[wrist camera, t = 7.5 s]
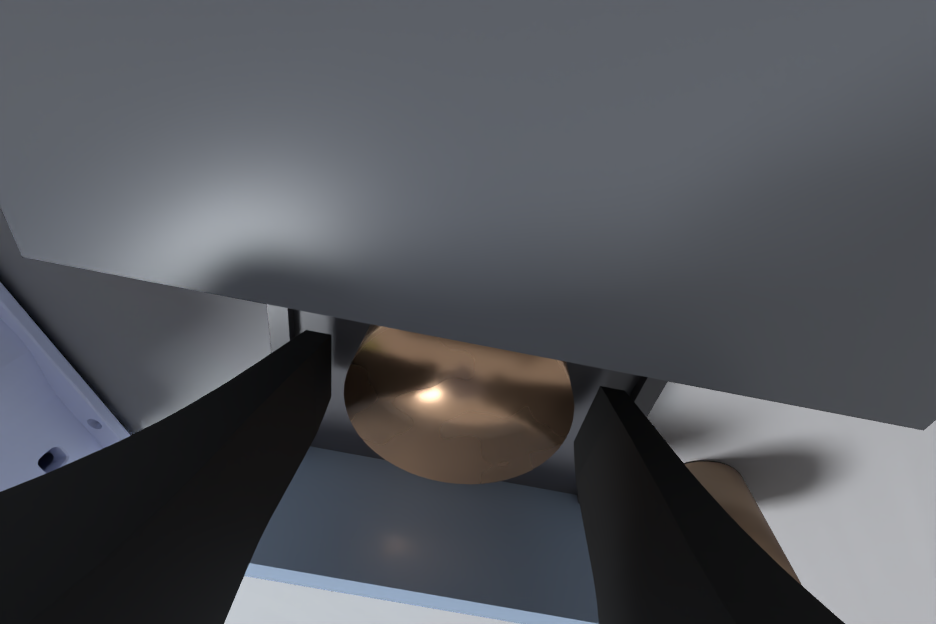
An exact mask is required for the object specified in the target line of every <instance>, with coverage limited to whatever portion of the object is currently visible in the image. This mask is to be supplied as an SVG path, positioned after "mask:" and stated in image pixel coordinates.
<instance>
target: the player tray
mask: <svg viewBox="0 0 936 624" xmlns="http://www.w3.org/2000/svg"><path fill="white" fill-rule="evenodd" d="M266 305H267V315H268V325H269V335H270V345H271V353H272V352H274V351H275V350H277V349H278V348H280V347H281V346H283V345H284V344H286V343H287V342H289V341H290V340H291V339H293V338H294V337H296V336H298V335H299V334H301V333H302V332H304V331H305V330H310V331H315V332H320V333H325V334H331V335H332V360H331V399H330V402H329V404H328V407H327V410H326V412H325V415H324V417H323V420H322V422H321V425H320V427H319V430H318V432H317V434H316V436H315V438H314V440H313V442H312V444H311V446H310V448H309V449H308V451H307V453H306V455H305V457H304V459H303V460H302V462H301V464H300V466H299V468H298V470H297V471H296V473H295V475H294V477H293V479H292V481H291V482H290V484H289V486H288V488H287V490H286V491H285V493H284V495H283V497H282V499H281V501H280V502H279V504H278V506H277V508H276V510H275V511H274V513H273V515H272V517H271V519H270V521H269V523H268V525H267V527H266V529H265V531H264V533H263V535H262V537H261V539H260V541H259V543H258V545H257V547H256V550H255V552H254V554H253V556H252V559H251V561H250V563H249V566H248V568H247V570H246V573H245V575H244V576H248V577H254V578H259V579H265V580H271V581H277V582H283V583H288V584H294V585H300V586H306V587H312V588H317V589H323V590H329V591H335V592H341V593H346V594H352V595H358V596H364V597H370V598H375V599H381V600H387V601H393V602H399V603H404V604H410V605H416V606H422V607H428V608H433V609H439V610H445V611H451V612H457V613H462V614H468V615H474V616H480V617H486V618H491V619H497V620H503V621H509V622H515V623H520V624H599V620H598V609H597V599H596V592H595V585H594V579H593V573H592V568H591V562H590V557H589V552H588V546H587V541H586V536H585V530H584V525H583V520H582V514H581V509H580V503H579V498H578V492H577V486H576V478H575V463H574V440H575V438H576V436H577V434H578V432H579V429H580V427H581V425H582V423H583V421H584V419H585V417H586V415H587V413H588V410H589V408H590V406H591V404H592V402H593V400H594V398H595V396H596V394H597V391H598V389H599V387H600V386H603V387H609V388H614V389H619V390H624V391H625V392H626V393H627V394H628V395H629V396H630V397H631V399H632V400H633V401H634V402H635V404H636V405H637V406H638V407H639V409H640V410H641V411H642V412H643V414H644V415H645V416H646V417H647V416H648V414H649V412H650V410H651V409H652V407H653V405H654V404H655V402H656V400H657V399H658V397H659V395H660V393H661V392H662V390H663V388H664V387H665V385H666V383H667V381H664V380H659V379H654V378H649V377H643V376H638V375H633V374H628V373H623V372H617V371H612V370H607V369H602V368H596V367H591V366H586V365H581V364H576V363H570V362H567V366H568V371H569V376H570V381H571V387H572V392H573V397H574V417H573V422H572V425H571V429H570V431H569V433H568V435H567V437H566V439H565V441H564V442H563V444H562V445H561V446H560V448H559V449H558V450H557V451H556V452H555V453H554V454H553V455H552V456H551V457H550V458H549V459H548V460H546V461H545V462H544V463H542V464H541V465H539V466H538V467H536V468H534V469H533V470H531V471H529V472H526V473H524V474H522V475H519V476H516V477H514V478H511V479H507V480H503V481H498V482H492V483H485V484H454V483H445V482H440V481H435V480H431V479H427V478H424V477H420V476H417V475H415V474H412V473H409V472H407V471H405V470H403V469H401V468H399V467H397V466H395V465H393V464H391V463H390V462H388V461H386V460H385V459H384V458H382V457H381V456H380V455H378V454H377V453H376V452H374V451H373V450H372V449H371V448H370V447H369V446H368V445H367V444H366V443H365V442H364V441H363V439H362V438H361V437H360V436H359V434H358V433H357V431H356V430H355V428H354V427H353V425H352V423H351V421H350V419H349V417H348V414H347V410H346V407H345V401H344V383H345V378H346V374H347V371H348V369H349V367H350V365H351V362H352V360H353V358H354V356H355V354H356V352H357V350H358V348H359V346H360V344H361V342H362V340H363V338H364V336H365V334H366V332H367V330H368V328H369V326H370V324H367V323H362V322H357V321H352V320H346V319H341V318H336V317H331V316H326V315H320V314H315V313H310V312H305V311H300V310H294V309H289V308H284V307H279V306H274V305H268V304H266Z"/></svg>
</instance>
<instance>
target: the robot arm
mask: <svg viewBox="0 0 936 624" xmlns="http://www.w3.org/2000/svg"><path fill="white" fill-rule="evenodd" d="M331 360H332V335H331V334H325V333H320V332H315V331H310V330H305V331H304V332H302V333H301V334H299V335H298V336H296V337H294V338H293V339H291V340H290V341H289V342H287V343H286V344H284V345H283V346H281V347H280V348H278V349H277V350H275V351H274V352H272V353H271V354H269V355H268V356H267V357H265V358H264V359H262V360H261V361H259V362H258V363H256V364H255V365H253V366H252V367H250V368H248V369H247V370H245V371H244V372H242V373H241V374H239V375H238V376H236V377H235V378H233V379H231V380H230V381H228V382H227V383H225V384H224V385H222V386H220V387H219V388H217V389H215V390H214V391H212V392H210V393H209V394H207V395H205V396H203V397H202V398H200V399H198V400H197V401H195V402H193V403H192V404H190V405H188V406H187V407H185V408H183V409H181V410H179V411H178V412H176V413H174V414H172V415H170V416H168V417H166V418H165V419H163V420H161V421H159V422H157V423H155V424H153V425H151V426H149V427H147V428H145V429H143V430H141V431H139V432H137V433H135V434H133V435H131V436H130V434H129V433H128V432H127V430H126V429H125V428H124V427H123V426H122V425H121V423H120V422H119V421H118V420H117V419H116V418H115V416H114V415H113V414H112V413H111V412H110V410H109V409H108V408H107V407H106V406H105V405H104V403H103V402H102V401H101V400H100V399H99V397H98V396H97V395H96V394H95V393H94V392H93V390H92V389H91V388H90V387H89V386H88V385H87V383H86V382H85V381H84V380H83V379H82V377H81V376H80V375H79V374H78V373H77V372H76V370H75V369H74V368H73V367H72V366H71V365H70V363H69V362H68V361H67V360H66V359H65V357H64V356H63V355H62V354H61V353H60V352H59V350H58V349H57V348H56V347H55V346H54V344H53V343H52V342H51V341H50V340H49V339H48V337H47V336H46V335H45V334H44V333H43V332H42V330H41V329H40V328H39V327H38V326H37V324H36V323H35V322H34V321H33V320H32V319H31V317H30V316H29V315H28V314H27V313H26V312H25V310H24V309H23V308H22V307H21V306H20V304H19V303H18V302H17V301H16V300H15V299H14V297H13V296H12V295H11V294H10V293H9V291H8V290H7V289H6V288H5V287H4V286H3V284H2V283H1V282H0V624H224V622H225V620H226V617H227V615H228V613H229V610H230V608H231V605H232V603H233V601H234V598H235V596H236V593H237V591H238V589H239V586H240V584H241V582H242V579H243V577H244V575H245V573H246V570H247V568H248V566H249V563H250V561H251V559H252V556H253V554H254V552H255V550H256V547H257V545H258V543H259V541H260V539H261V537H262V535H263V533H264V531H265V529H266V527H267V525H268V523H269V521H270V519H271V517H272V515H273V513H274V511H275V510H276V508H277V506H278V504H279V502H280V501H281V499H282V497H283V495H284V493H285V491H286V490H287V488H288V486H289V484H290V482H291V481H292V479H293V477H294V475H295V473H296V471H297V470H298V468H299V466H300V464H301V462H302V460H303V459H304V457H305V455H306V453H307V451H308V449H309V448H310V446H311V444H312V442H313V440H314V438H315V436H316V434H317V432H318V430H319V427H320V425H321V422H322V420H323V417H324V415H325V412H326V410H327V407H328V404H329V402H330V399H331ZM574 463H575V478H576V486H577V492H578V498H579V503H580V509H581V514H582V520H583V525H584V530H585V536H586V541H587V546H588V552H589V557H590V562H591V568H592V573H593V579H594V585H595V592H596V599H597V609H598V620H599V624H845V623H844V622H842V621H841V620H840V619H839V618H838V617H837V616H835V615H834V614H833V613H832V612H831V611H830V610H829V609H828V608H826V607H825V606H824V605H823V604H822V603H821V602H820V601H819V600H817V599H816V598H815V597H814V596H813V595H812V594H811V593H810V592H808V591H807V590H806V589H805V588H804V587H803V586H802V585H801V584H799V583H798V582H797V581H796V580H795V579H794V578H793V577H792V576H791V575H790V574H789V573H787V572H786V571H785V570H784V569H783V568H782V567H781V566H780V565H779V564H778V563H777V562H776V561H775V560H774V559H773V558H772V557H771V556H770V555H769V554H768V553H767V552H766V551H765V550H764V549H762V548H761V547H760V546H759V545H758V544H757V543H756V542H755V541H754V540H753V539H752V538H751V537H750V536H749V535H748V534H747V533H746V532H745V531H744V530H743V529H742V528H741V527H740V526H739V525H738V524H737V522H736V521H735V520H734V519H733V518H732V517H731V516H730V515H729V514H728V513H727V512H726V511H725V510H724V509H723V508H722V506H721V505H720V504H719V503H718V502H717V501H716V500H715V499H714V498H713V496H712V495H711V494H710V493H709V492H708V491H707V490H706V489H705V488H704V487H703V485H702V484H701V483H700V482H699V481H698V480H697V478H696V477H695V476H694V475H693V474H692V473H691V472H690V470H689V469H688V468H687V467H686V466H685V464H684V463H683V462H682V461H681V460H680V458H679V457H678V456H677V455H676V454H675V452H674V451H673V450H672V449H671V447H670V446H669V445H668V444H667V442H666V441H665V440H664V439H663V437H662V436H661V435H660V434H659V432H658V431H657V430H656V429H655V427H654V426H653V425H652V424H651V422H650V421H649V420H648V419H647V417H646V416H645V415H644V414H643V412H642V411H641V410H640V409H639V407H638V406H637V405H636V404H635V402H634V401H633V400H632V399H631V397H630V396H629V395H628V394H627V393H626V392H625V391H624V390H619V389H614V388H609V387H603V386H600V387H599V389H598V391H597V394H596V396H595V398H594V400H593V402H592V404H591V406H590V408H589V410H588V413H587V415H586V417H585V419H584V421H583V423H582V425H581V427H580V429H579V432H578V434H577V436H576V438H575V440H574Z"/></svg>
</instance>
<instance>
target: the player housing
mask: <svg viewBox="0 0 936 624" xmlns="http://www.w3.org/2000/svg"><path fill="white" fill-rule="evenodd" d="M0 208H1V210H2V213H3V215H4V217H5V219H6V222H7V224H8V226H9V228H10V231H11V233H12V235H13V237H14V240H15V242H16V244H17V246H18V249H19V251H20V253H21V255H22V257H24V258H29V259H34V260H39V261H44V262H50V263H55V264H60V265H65V266H70V267H76V268H81V269H86V270H91V271H96V272H102V273H107V274H112V275H117V276H122V277H128V278H133V279H138V280H143V281H149V282H154V283H159V284H164V285H169V286H175V287H180V288H185V289H190V290H195V291H201V292H206V293H211V294H216V295H221V296H227V297H232V298H237V299H242V300H247V301H253V302H258V303H263V304H268V305H274V306H279V307H284V308H289V309H294V310H300V311H305V312H310V313H315V314H320V315H326V316H331V317H336V318H341V319H346V320H352V321H357V322H362V323H367V324H372V325H378V326H383V327H388V328H393V329H399V330H404V331H409V332H414V333H419V334H425V335H430V336H435V337H440V338H445V339H451V340H456V341H461V342H466V343H471V344H477V345H482V346H487V347H492V348H497V349H503V350H508V351H513V352H518V353H524V354H529V355H534V356H539V357H544V358H550V359H555V360H560V361H565V362H570V363H576V364H581V365H586V366H591V367H596V368H602V369H607V370H612V371H617V372H623V373H628V374H633V375H638V376H643V377H649V378H654V379H659V380H664V381H669V382H675V383H680V384H685V385H690V386H695V387H701V388H706V389H711V390H716V391H721V392H727V393H732V394H737V395H742V396H748V397H753V398H758V399H763V400H768V401H774V402H779V403H784V404H789V405H794V406H800V407H805V408H810V409H815V410H820V411H826V412H831V413H836V414H841V415H846V416H852V417H857V418H862V419H867V420H873V421H878V422H883V423H888V424H893V425H899V426H904V427H909V428H914V429H919V430H925V429H926V428H927V427H928V426H929V425H930V424H932V423H933V422H934V421H935V420H936V0H0Z"/></svg>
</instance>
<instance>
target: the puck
mask: <svg viewBox="0 0 936 624" xmlns="http://www.w3.org/2000/svg"><path fill="white" fill-rule="evenodd" d="M344 401H345V407H346V410H347V414H348V417H349V419H350V421H351V423H352V425H353V427H354V428H355V430H356V431H357V433H358V434H359V436H360V437H361V438H362V439H363V441H364V442H365V443H366V444H367V445H368V446H369V447H370V448H371V449H372V450H373V451H374V452H376V453H377V454H378V455H380V456H381V457H382V458H384V459H385V460H386V461H388V462H390V463H391V464H393V465H395V466H397V467H399V468H401V469H403V470H405V471H407V472H409V473H412V474H415V475H417V476H420V477H424V478H427V479H431V480H435V481H440V482H445V483H454V484H485V483H492V482H498V481H503V480H507V479H511V478H514V477H516V476H519V475H522V474H524V473H526V472H529V471H531V470H533V469H534V468H536V467H538V466H539V465H541V464H542V463H544V462H545V461H546V460H548V459H549V458H550V457H551V456H552V455H553V454H554V453H555V452H556V451H557V450H558V449H559V448H560V446H561V445H562V444H563V442H564V441H565V439H566V437H567V435H568V433H569V431H570V429H571V425H572V422H573V417H574V397H573V392H572V387H571V381H570V376H569V371H568V366H567V362H565V361H560V360H555V359H550V358H544V357H539V356H534V355H529V354H524V353H518V352H513V351H508V350H503V349H497V348H492V347H487V346H482V345H477V344H471V343H466V342H461V341H456V340H451V339H445V338H440V337H435V336H430V335H425V334H419V333H414V332H409V331H404V330H399V329H393V328H388V327H383V326H378V325H372V324H370V326H369V328H368V330H367V332H366V334H365V336H364V338H363V340H362V342H361V344H360V346H359V348H358V350H357V352H356V354H355V356H354V358H353V360H352V362H351V365H350V367H349V369H348V371H347V374H346V378H345V383H344Z"/></svg>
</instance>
